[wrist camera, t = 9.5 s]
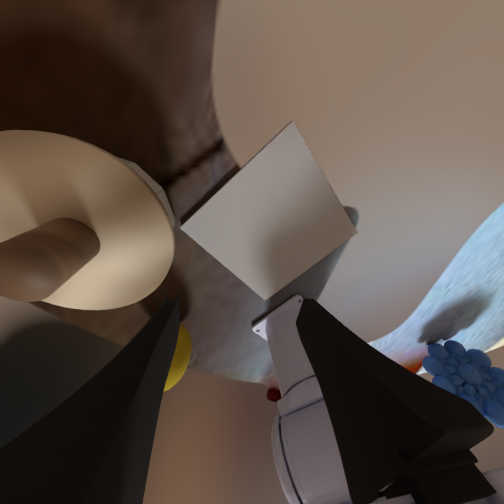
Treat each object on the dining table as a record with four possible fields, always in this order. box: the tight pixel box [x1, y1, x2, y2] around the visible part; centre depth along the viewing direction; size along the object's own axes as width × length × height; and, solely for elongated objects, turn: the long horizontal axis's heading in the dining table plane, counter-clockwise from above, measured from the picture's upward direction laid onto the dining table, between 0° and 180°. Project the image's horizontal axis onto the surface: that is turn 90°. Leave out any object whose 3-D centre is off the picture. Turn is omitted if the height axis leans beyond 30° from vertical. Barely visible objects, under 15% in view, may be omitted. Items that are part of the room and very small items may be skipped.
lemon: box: [163, 323, 191, 392], centre depth 20 cm, size 6×6×8 cm
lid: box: [0, 130, 175, 310], centre depth 11 cm, size 12×12×5 cm
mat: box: [180, 121, 357, 300], centre depth 20 cm, size 13×13×1 cm
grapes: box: [423, 340, 504, 428], centre depth 31 cm, size 12×7×12 cm, turn 101°
